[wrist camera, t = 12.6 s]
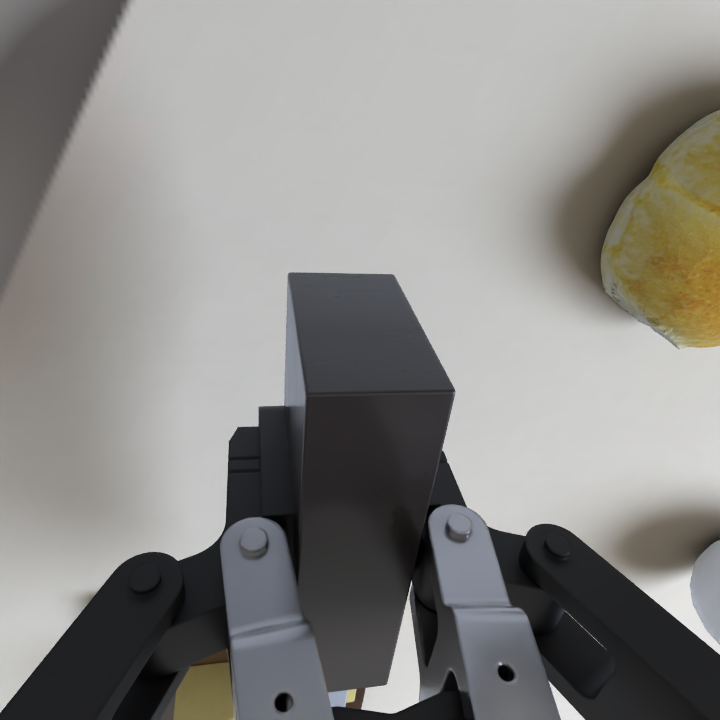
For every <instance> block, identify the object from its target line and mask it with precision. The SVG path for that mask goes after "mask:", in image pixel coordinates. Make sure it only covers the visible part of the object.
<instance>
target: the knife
mask: <svg viewBox="0 0 720 720" xmlns="http://www.w3.org/2000/svg"><path fill="white" fill-rule="evenodd" d="M454 396H455V389H454V387H453V385H452V383H451V382H450V380H449V378H448V376H447V374H446V372H445V370H444V368H443V366H442V365H441V363H440V361H439V359H438V357H437V355H436V353H435V351H434V349H433V348H432V346H431V344H430V342H429V340H428V338H427V336H426V334H425V332H424V331H423V329H422V327H421V325H420V323H419V321H418V319H417V317H416V315H415V314H414V312H413V310H412V308H411V306H410V304H409V302H408V300H407V298H406V297H405V295H404V293H403V291H402V289H401V287H400V285H399V283H398V281H397V280H396V278H395V276H394V275H392V274H343V273H289V274H288V286H287V323H286V359H285V396H284V406H285V411H286V422H287V434H288V445H289V456H290V467H291V478H292V489H293V500H294V512H295V518H294V538H293V559H292V563H293V568H294V572H295V577H296V581H297V586H298V590H299V595H300V599H301V604H302V608H303V612H304V616H305V619H306V620H309V621H310V623H311V625H312V628H313V632H314V636H315V640H316V644H317V648H318V653H319V657H320V661H321V665H322V670H323V674H324V678H325V683H326V687H327V691H328V695H329V700H330V704H331V707H336V706H340V707H345V706H346V700H347V694H348V690H352V689H360V688H367V687H375V686H382V685H386V684H387V682H388V677H389V673H390V669H391V665H392V660H393V656H394V652H395V648H396V643H397V639H398V635H399V631H400V626H401V622H402V618H403V614H404V609H405V605H406V601H407V596H408V592H409V588H410V584H411V579H412V575H413V571H414V567H415V562H416V558H417V554H418V550H419V545H420V541H421V537H422V533H423V528H424V524H425V520H426V516H427V511H428V507H429V503H430V498H431V494H432V490H433V486H434V481H435V477H436V473H437V469H438V464H439V460H440V456H441V452H442V447H443V443H444V439H445V435H446V430H447V426H448V422H449V418H450V413H451V409H452V405H453V400H454Z"/></svg>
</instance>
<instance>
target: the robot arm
mask: <svg viewBox="0 0 720 720" xmlns="http://www.w3.org/2000/svg"><path fill="white" fill-rule="evenodd" d="M294 518H295V512H294V500H293V489H292V478H291V467H290V456H289V445H288V434H287V422H286V411H285V406H263V407H259V427H238V428H237V430H236V431H235V433H234V435H233V436H232V438H231V439H230V441H229V455H228V481H227V507H226V524H225V528H224V531H223V533H222V535H221V536H220V537H219V539H218V540H217V541H216V542H215V543H214V544H213V545H212V546H211V547H209V548H208V549H206V550H204V551H203V552H201V553H198V554H196V555H193V556H191V557H188V558H185V559H182V560H180V561H177V560H176V559H175V558H173V557H172V556H170V555H168V554H165V553H160V552H148V553H143V554H139V555H136V556H134V557H132V558H130V559H128V560H127V561H125V562H124V563H122V564H121V565H120V566H119V567H118V568H117V569H116V570H115V571H114V572H113V574H112V575H111V576H110V577H109V579H108V580H107V581H106V582H105V584H104V585H103V586H102V587H101V589H100V590H99V591H98V592H97V593H96V595H95V596H94V597H93V598H92V600H91V601H90V602H89V603H88V605H87V606H86V607H85V608H84V610H83V611H82V612H81V613H80V615H79V616H78V617H77V618H76V620H75V621H74V622H73V623H72V625H71V626H70V627H69V628H68V630H67V631H66V632H65V633H64V634H63V636H62V637H61V638H60V639H59V641H58V642H57V643H56V644H55V646H54V647H53V648H52V649H51V651H50V652H49V653H48V654H47V656H46V657H45V658H44V659H43V661H42V662H41V663H40V664H39V666H38V667H37V668H36V669H35V670H34V672H33V673H32V674H31V675H30V677H29V678H28V679H27V680H26V682H25V683H24V684H23V685H22V687H21V688H20V689H19V690H18V692H17V693H16V694H15V695H14V697H13V698H12V699H11V700H10V702H9V703H8V704H7V705H6V707H5V708H4V709H3V710H2V711H1V713H0V720H160V719H161V717H162V716H163V714H164V712H165V710H166V709H167V707H168V705H169V703H170V702H171V700H172V698H173V696H174V695H175V693H176V691H177V689H178V687H179V686H180V684H181V682H182V680H183V679H184V677H185V675H186V673H187V672H188V670H189V668H190V666H191V665H193V664H195V663H197V662H199V661H201V660H204V659H206V658H208V657H210V656H212V655H215V654H217V653H219V652H221V651H223V650H226V649H227V653H228V663H229V673H230V683H231V693H232V703H233V714H234V720H561V719H560V716H559V712H558V709H557V706H556V703H555V700H554V697H553V694H552V691H551V687H550V684H549V681H550V682H551V683H552V685H553V686H554V687H555V688H556V689H557V690H558V691H559V692H560V693H561V694H562V695H563V696H564V697H565V698H566V699H567V701H568V702H569V703H570V704H571V705H572V706H573V707H574V708H575V709H576V710H577V711H578V712H579V713H580V714H581V715H582V717H583V718H584V719H585V720H720V655H719V654H718V653H717V652H716V651H715V650H713V649H712V648H711V647H710V646H708V645H707V644H706V643H705V642H704V641H702V640H701V639H700V638H699V637H698V636H696V635H695V634H694V633H693V632H692V631H690V630H689V629H688V628H687V627H685V626H684V625H683V624H682V623H681V622H679V621H678V620H677V619H676V618H675V617H673V616H672V615H671V614H670V613H669V612H667V611H666V610H665V609H664V608H663V607H661V606H660V605H659V604H658V603H656V602H655V601H654V600H653V599H652V598H650V597H649V596H648V595H647V594H646V593H644V592H643V591H642V590H641V589H640V588H638V587H637V586H636V585H635V584H634V583H632V582H631V581H630V580H629V579H627V578H626V577H625V576H624V575H623V574H621V573H620V572H619V571H618V570H617V569H615V568H614V567H613V566H612V565H611V564H609V563H608V562H607V561H606V560H604V559H603V558H602V557H601V556H600V555H598V554H597V553H596V552H595V551H594V550H592V549H591V548H590V547H589V546H588V545H586V544H585V543H584V542H583V541H582V540H580V539H579V538H578V537H577V536H575V535H574V534H573V533H571V532H570V531H568V530H566V529H564V528H562V527H560V526H557V525H552V524H539V525H536V526H534V527H532V528H531V529H530V530H529V531H528V533H527V535H526V536H521V535H516V534H512V533H507V532H502V531H498V530H495V529H492V528H490V527H488V526H487V525H486V523H485V521H484V520H483V519H482V518H481V516H479V515H478V514H477V513H476V512H474V511H473V510H471V509H469V508H467V506H466V504H465V502H464V499H463V497H462V495H461V492H460V490H459V487H458V485H457V483H456V480H455V478H454V475H453V473H452V471H451V468H450V466H449V464H448V463H447V459H446V456H445V454H444V452H443V451H442V452H441V456H440V460H439V464H438V469H437V473H436V477H435V481H434V486H433V490H432V494H431V498H430V503H429V507H428V511H427V516H426V520H425V524H424V528H423V533H422V537H421V541H420V545H419V550H418V554H417V558H416V562H415V567H414V571H413V575H412V579H411V580H412V587H411V591H410V605H411V612H412V619H413V627H414V634H415V642H416V649H417V657H418V664H419V672H420V692H419V703H417V704H415V705H413V706H410V707H408V708H406V709H404V710H402V711H400V712H397V713H393V714H387V713H381V712H374V711H367V710H360V709H354V708H347V707H340V706H336V707H331V704H330V700H329V695H328V691H327V687H326V683H325V678H324V674H323V670H322V665H321V661H320V657H319V653H318V648H317V644H316V640H315V636H314V632H313V628H312V625H311V623H310V621H309V620H306V619H305V616H304V612H303V608H302V604H301V599H300V595H299V590H298V586H297V581H296V577H295V572H294V568H293V563H292V559H293V538H294ZM568 613H569V614H570V615H571V616H572V617H573V618H574V619H575V620H576V621H577V622H578V623H579V624H580V625H581V626H582V627H581V626H580V625H579V624H578V623H577V622H576V621H575V620H574V619H573V618H572V617H571V616H570V615H569V614H568ZM586 630H587V631H588V632H589V633H590V634H591V635H592V636H593V637H594V638H595V639H596V640H597V641H598V642H599V643H600V644H599V643H598V642H597V641H596V640H595V639H594V638H593V637H592V636H591V635H590V634H589V633H588V632H587V631H586ZM548 680H549V681H548Z"/></svg>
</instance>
